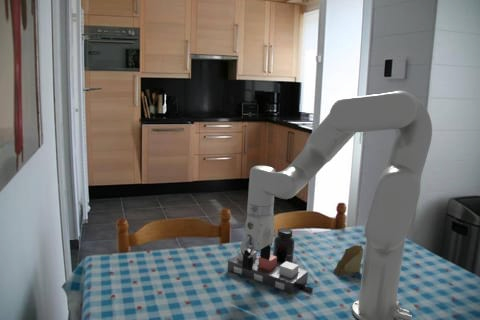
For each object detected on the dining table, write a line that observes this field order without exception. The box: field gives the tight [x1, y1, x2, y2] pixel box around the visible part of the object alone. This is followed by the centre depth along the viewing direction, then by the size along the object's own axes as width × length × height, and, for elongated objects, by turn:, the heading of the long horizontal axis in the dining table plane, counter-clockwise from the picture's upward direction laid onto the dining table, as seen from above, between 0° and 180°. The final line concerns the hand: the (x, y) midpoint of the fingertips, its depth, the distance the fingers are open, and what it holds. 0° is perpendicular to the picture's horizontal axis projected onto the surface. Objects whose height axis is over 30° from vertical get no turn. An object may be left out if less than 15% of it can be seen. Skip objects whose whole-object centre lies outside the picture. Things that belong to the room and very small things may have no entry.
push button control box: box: [227, 253, 314, 295], centre depth 133 cm, size 27×10×4 cm, turn 56°
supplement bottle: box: [272, 227, 295, 264], centre depth 144 cm, size 7×7×12 cm
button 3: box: [238, 249, 258, 261], centre depth 138 cm, size 4×4×6 cm
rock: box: [332, 244, 364, 276], centre depth 141 cm, size 11×9×10 cm
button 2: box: [258, 254, 277, 271], centre depth 134 cm, size 4×4×6 cm
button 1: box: [279, 261, 300, 278], centre depth 130 cm, size 4×4×6 cm
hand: (256, 263), depth 128 cm, fingers open, 9 cm apart
